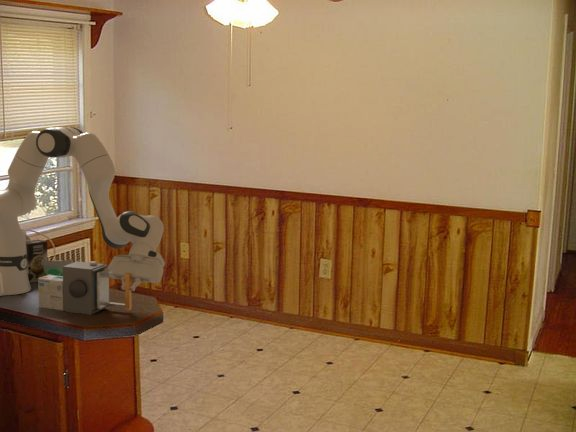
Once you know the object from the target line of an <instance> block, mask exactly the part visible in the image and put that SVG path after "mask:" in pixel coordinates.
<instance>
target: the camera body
mask: <svg viewBox="0 0 576 432" xmlns="http://www.w3.org/2000/svg"><path fill="white" fill-rule="evenodd" d="M108 266H109V264H105V263H98V261H94V260H93V261H89V262H87V261H77V260H76V261H75V262H74V261H73V263H71V264H68V265H66V266H63V312H64V311H65V312H66V313H72V312H73V314H74V313H75V314H80V313H81V314H82V315H90V316H91V315H94V314H96V313H99V312H100V311H102V310H104V309H106V308H108V307H109V306H105V307H103V308H101V309H97V272H98V271H101V270H103V269H106V268H108Z"/></svg>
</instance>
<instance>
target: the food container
mask: <svg viewBox="0 0 576 432" xmlns="http://www.w3.org/2000/svg"><path fill="white" fill-rule="evenodd" d="M71 263H74V260H73V258H70V259H67V260H63V259H54V260H53V259H52V260H47V261H45V260H43V259H42V262H41V265H43V269H44V276H47V275H55V276H63V266H66V265H68V264H71Z"/></svg>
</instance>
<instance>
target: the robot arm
mask: <svg viewBox="0 0 576 432" xmlns="http://www.w3.org/2000/svg"><path fill="white" fill-rule="evenodd" d="M68 157H73V158H74V159H75V160H76V162H77V163H78V165H79V168H80V169H81V171H82V174H83V175H84V179H85V181H86V184H87V190H88V193H89V197H90V201H91V202H92V205H93V208H94V210H95V213H96V215H97V219H98V220H99V223H100V225H101V235H102V238H103V239H102V240H104V242H105V243H106V245H107V246H109V247H110V248H113V249H117V250H118V249H123V248H125V246H127V245H128V244H129V243H132V245H131V247H130V249H129V252H128V254H117V255H114V256H113V257H112V259H111V261H110V263H109V264H108V267H107V268H108V269H109V279H117V280H121V283H122V284H121V286H120V288H121V290H122V291H125V273H132V281H134V282H132V284H130V287H129V289H130V291H132V292H135V290H136V288H137V287H138V286H140V285H141V283H142V282H145V283H153V284H155V283H156V284H158V283H160V282H161V281H162V278H163V275H164V267H165V265H166V262H165V260H164V258H163V256H162V254H160V253H159V252H158V251H157V248H158V246H159V245H160V243H161V240H162V237H163V235H164V228H165V227H164V223H163V221H162V220H161V219H160V218H159V217H158V216H155V215H152V214H151V215H143V214H138V213H137V212H136V211H132V210H127V211H123V213H121V214H120V215H118V216H117V214H116V212H115V209H114V207H113V205H112V202H111V200H110V189H111V187H112V184H113V182H114V179H115V176H116V168H115V165H114V162H113V160H112V158H111V157H110V154H109V152H108V150H107V149H106V148H105V145H104V144H103V143H102V142H101V140H100V139H99V137H98V136H97V135H96V134H94V133H93V132H84V131H82V130H80V129H79V128H77V127H75V126H73V127H72V126H70V127H68V126H59V127H58V126H55V127H47V128H44V129H42V130H41V131H39V130H32V131H30V132H28V134H26V136H25V138H23V141H21V143H20V145H19V147H18V148H17V150H16V152H15V154H14V157H13V159H12V161H11V163H10V165H9V167H8V169H7V176H9V178H8V179H9V180H8V184H7V187H6V188H5V189H0V297H1V296H2V297H3V296H11V295H13V296H15V295H19V294H25V293H28V292H30V291H31V290H32V287H31V283H29V279H28V274H27V253H26V235H25V233H24V231H25V230H22V228H21V227H20V224H19V217H22V216H25V215H27V214H28V213H30V212H31V211H33V209H35V206H36V203H37V199H36V195H35V193H36V187H37V183H38V182H39V180H40V177H41V175H42V172H43V171H44V168H45V166H46V164H47V162H48V160H49V159H50V158H58V159H59V158H61V159H62V158H68Z"/></svg>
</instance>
